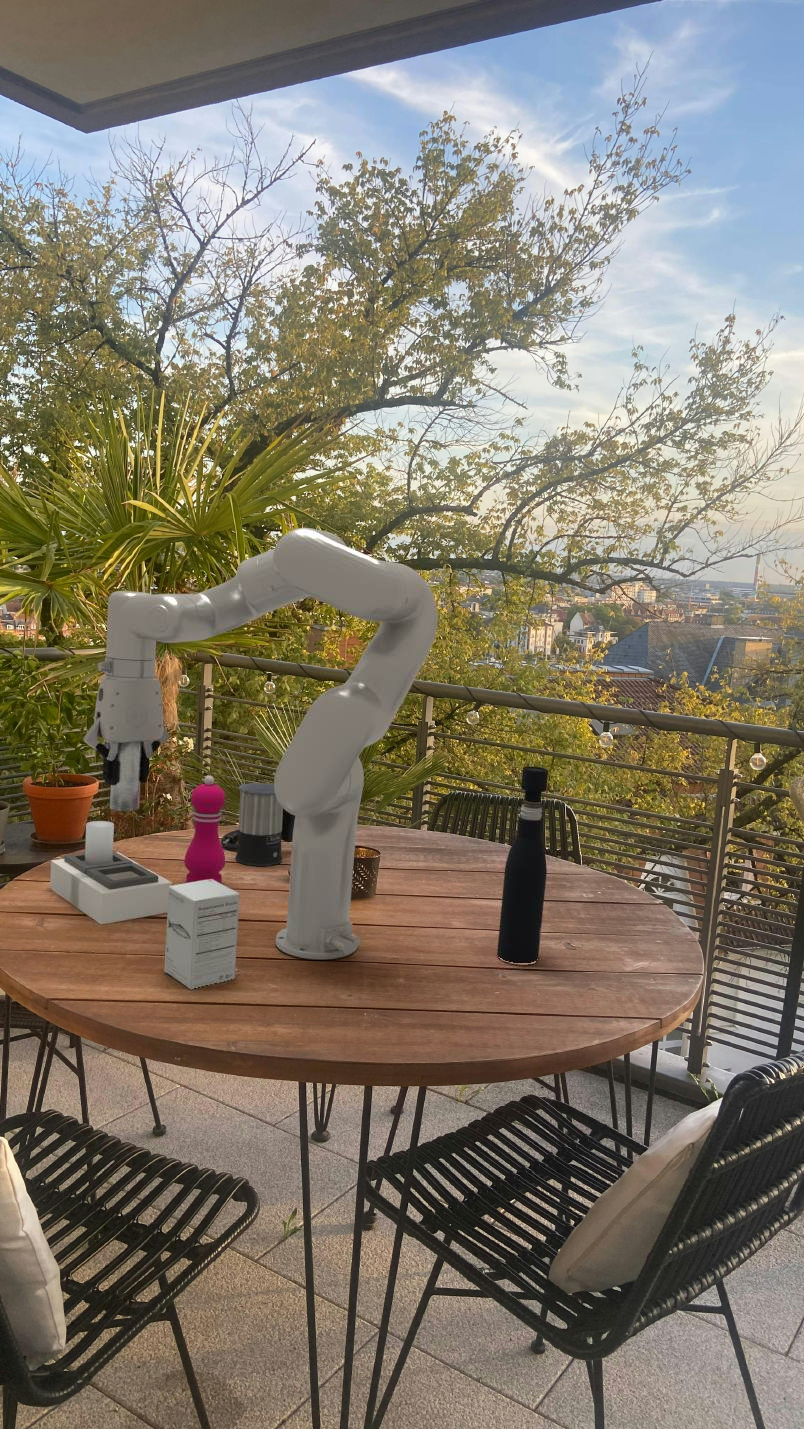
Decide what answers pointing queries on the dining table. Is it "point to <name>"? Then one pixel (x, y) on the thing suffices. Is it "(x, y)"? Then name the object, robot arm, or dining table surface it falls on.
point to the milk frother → (260, 826)
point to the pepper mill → (206, 834)
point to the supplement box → (201, 933)
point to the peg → (127, 777)
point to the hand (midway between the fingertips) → (125, 781)
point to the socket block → (108, 880)
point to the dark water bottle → (525, 877)
